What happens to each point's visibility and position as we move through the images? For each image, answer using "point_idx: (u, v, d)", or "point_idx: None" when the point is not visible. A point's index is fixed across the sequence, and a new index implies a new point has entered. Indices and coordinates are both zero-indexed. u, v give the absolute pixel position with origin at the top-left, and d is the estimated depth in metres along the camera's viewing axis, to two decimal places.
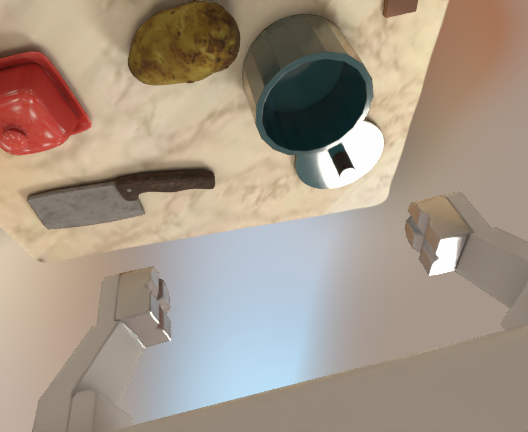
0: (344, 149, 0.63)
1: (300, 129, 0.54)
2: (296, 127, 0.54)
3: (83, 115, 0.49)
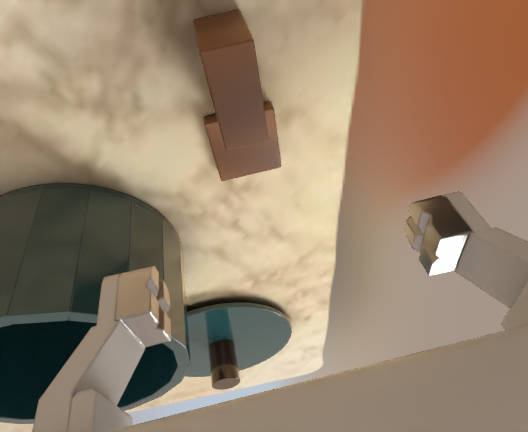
0: (224, 337, 0.39)
1: None
2: None
3: None
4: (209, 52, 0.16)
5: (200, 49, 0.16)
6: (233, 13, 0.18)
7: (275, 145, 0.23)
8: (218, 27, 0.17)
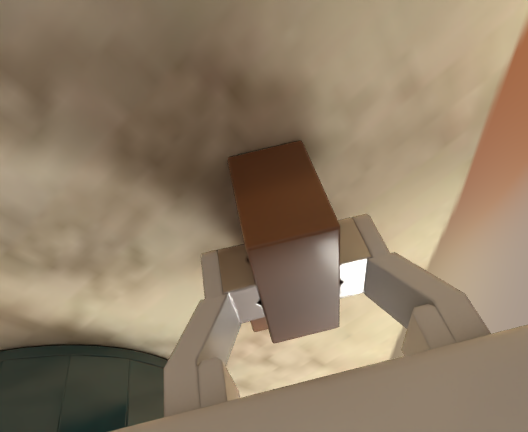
0: None
1: None
2: None
3: None
4: (264, 248, 0.09)
5: (247, 242, 0.09)
6: (292, 149, 0.11)
7: None
8: (272, 184, 0.10)
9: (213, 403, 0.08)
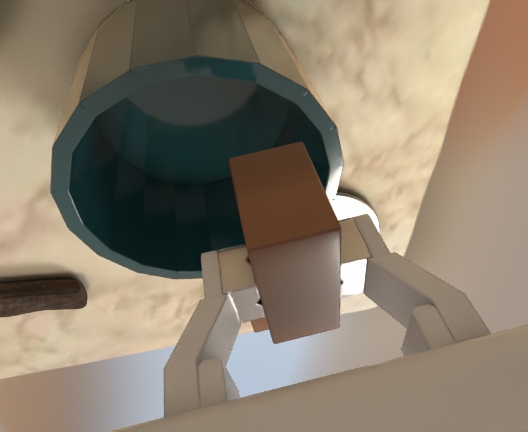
0: None
1: (211, 219, 0.27)
2: (205, 215, 0.28)
3: None
4: (265, 249, 0.09)
5: (248, 243, 0.09)
6: (293, 150, 0.11)
7: None
8: (273, 185, 0.10)
9: (213, 403, 0.08)
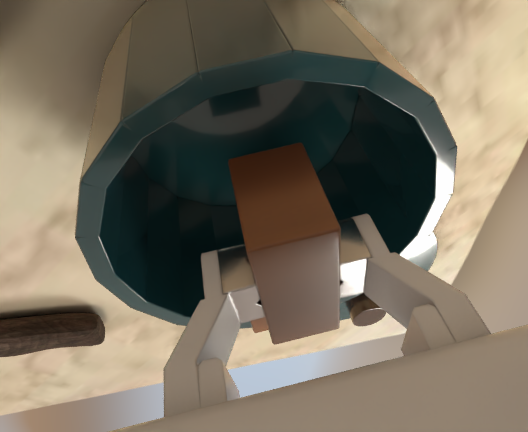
0: None
1: None
2: None
3: None
4: (264, 250, 0.09)
5: (247, 244, 0.09)
6: (292, 151, 0.11)
7: None
8: (273, 186, 0.10)
9: (213, 403, 0.08)
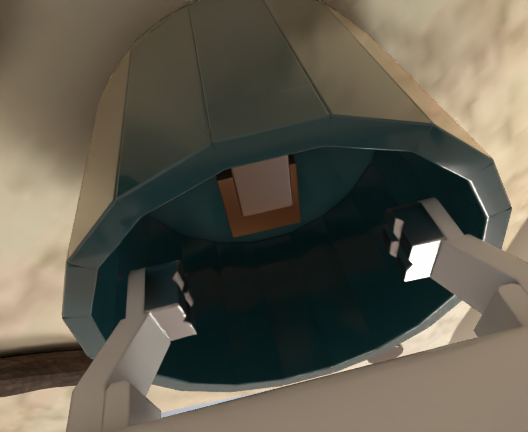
0: None
1: (270, 296, 0.21)
2: (260, 289, 0.21)
3: None
4: None
5: None
6: None
7: (295, 200, 0.21)
8: None
9: (115, 428, 0.08)
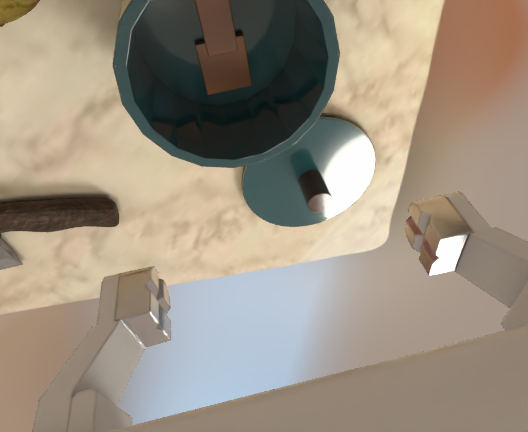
0: (315, 166, 0.42)
1: (230, 127, 0.33)
2: (224, 125, 0.33)
3: None
4: None
5: None
6: None
7: (246, 66, 0.32)
8: None
9: None
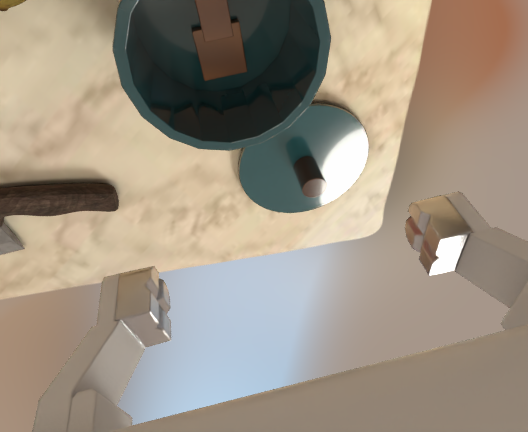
0: (310, 153, 0.43)
1: (226, 112, 0.34)
2: (221, 110, 0.34)
3: None
4: None
5: None
6: None
7: (242, 52, 0.33)
8: None
9: None
